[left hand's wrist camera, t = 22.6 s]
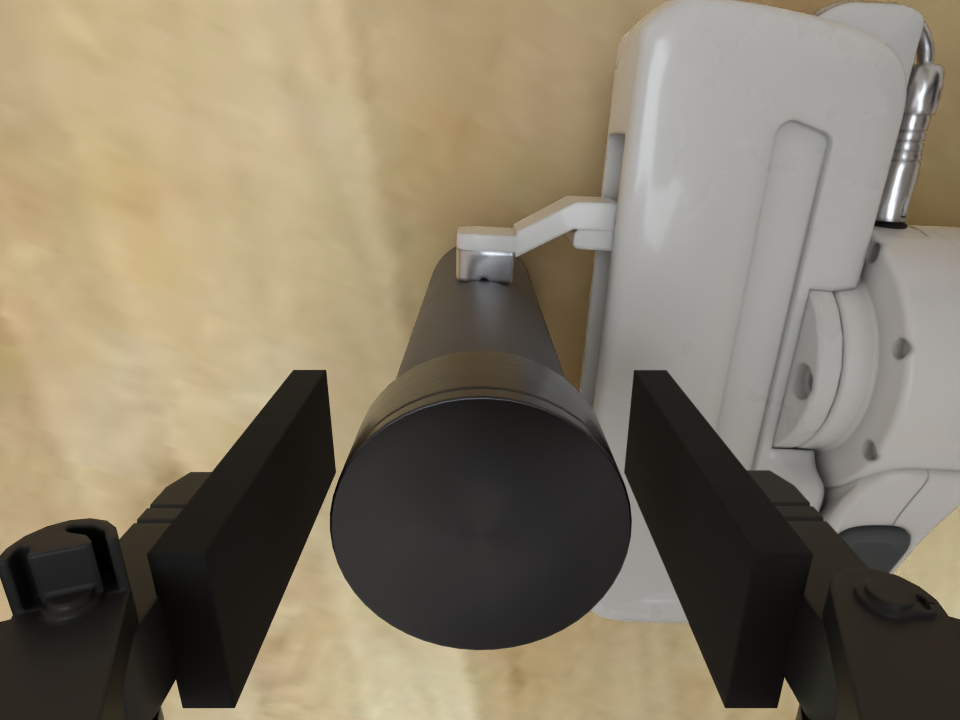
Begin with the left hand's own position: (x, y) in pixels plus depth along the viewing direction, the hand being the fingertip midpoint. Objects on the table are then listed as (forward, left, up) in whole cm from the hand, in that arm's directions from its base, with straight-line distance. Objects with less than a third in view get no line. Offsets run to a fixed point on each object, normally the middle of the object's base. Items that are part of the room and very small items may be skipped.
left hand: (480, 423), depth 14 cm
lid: (0, 0, +4) cm, 4 cm away
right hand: (+1, 0, -6) cm, 6 cm away
